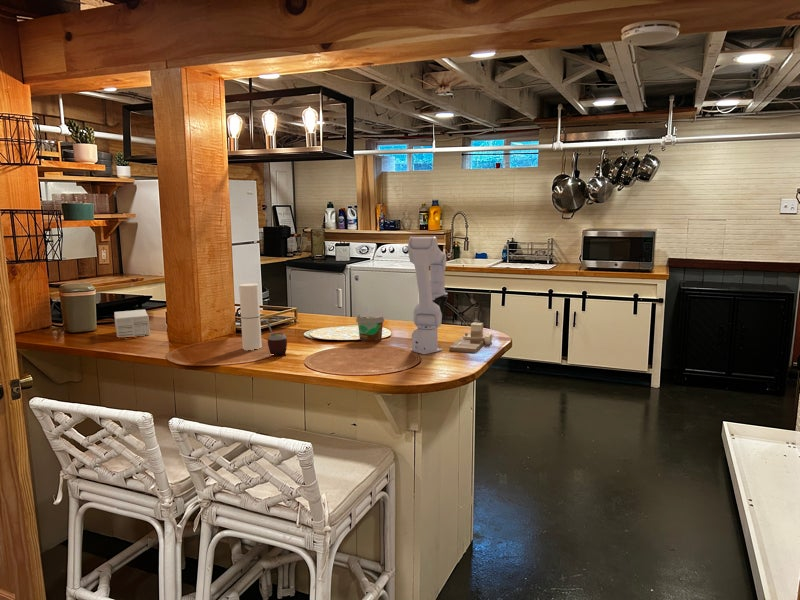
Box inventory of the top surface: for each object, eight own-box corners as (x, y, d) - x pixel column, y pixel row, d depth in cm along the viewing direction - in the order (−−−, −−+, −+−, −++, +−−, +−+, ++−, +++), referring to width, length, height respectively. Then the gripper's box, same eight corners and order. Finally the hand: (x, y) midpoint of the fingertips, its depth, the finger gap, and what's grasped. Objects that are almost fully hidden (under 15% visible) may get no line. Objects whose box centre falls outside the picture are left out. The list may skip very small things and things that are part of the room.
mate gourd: (290, 353, 218) (288, 314, 216) (282, 358, 210) (280, 318, 208) (271, 352, 219) (269, 313, 217) (263, 358, 212) (261, 317, 209)
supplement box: (115, 332, 260) (113, 311, 259) (147, 329, 266) (145, 309, 265) (116, 339, 245) (114, 318, 244) (150, 336, 251) (148, 315, 250)
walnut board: (475, 352, 215) (475, 348, 215) (449, 350, 219) (449, 346, 219) (487, 341, 234) (487, 337, 233) (463, 339, 237) (463, 335, 237)
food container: (350, 341, 237) (350, 317, 235) (358, 338, 242) (358, 314, 240) (377, 344, 231) (376, 319, 229) (384, 340, 236) (384, 316, 235)
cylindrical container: (249, 351, 222) (245, 286, 218) (239, 348, 227) (235, 285, 222) (265, 347, 227) (262, 284, 223) (254, 345, 232) (251, 283, 228)
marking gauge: (488, 344, 226) (489, 326, 225) (462, 342, 230) (462, 324, 229) (492, 341, 232) (492, 323, 231) (466, 339, 236) (466, 321, 235)
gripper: (441, 284, 224) (441, 319, 226) (452, 279, 237) (452, 312, 240) (424, 283, 227) (424, 317, 229) (435, 279, 240) (435, 311, 242)
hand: (437, 315), depth 234 cm, fingers open, 7 cm apart
